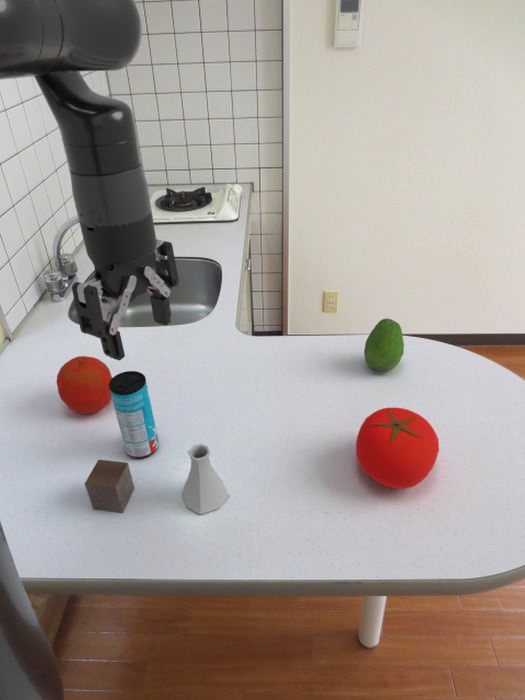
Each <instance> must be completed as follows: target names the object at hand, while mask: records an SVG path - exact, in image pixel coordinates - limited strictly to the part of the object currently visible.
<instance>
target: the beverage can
mask: <svg viewBox="0 0 525 700" xmlns="http://www.w3.org/2000/svg"><path fill="white" fill-rule="evenodd" d="M109 389H110V393H111V397H112V399H111V401H112V404H113V409H114V412H115V416H116V420H117V423H118V427H119V431H120V435H121V439H122V442H123V446H124V451H125V453H127V455H128V456H129V457H131V458H132V459H145V458H148V457H151V456H152V455H153V454H155V452H156V451H157V450H158V447H159V437H158V432H157V427H156V423H155V417H154V412H153V408H152V402H151V398H150V392H149V387H148V383H147V379H146V376H145V375H144V374H143V373H142V372H140V371H136V370H127V371H123V372H119V373H118V374H115V375H114V376H112V379H111V380H110V382H109Z"/></svg>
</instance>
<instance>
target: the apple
mask: <svg viewBox="0 0 525 700" xmlns="http://www.w3.org/2000/svg"><path fill="white" fill-rule="evenodd" d="M112 378H113V376H112V373H111V370H110V368H109V366H108V365H106V363H105V362H103V361H102V360H100V358H99V359H98V358H96V357H93V356H87V355H86V356H85V355H79V356H75V357H72V358H71V359H70V360H68V361H66V362H65V363H64V364H63V365H62V366H61V367H60V369H59V371H58V373H57V375H56V387H57V392H58V396H59V398H60V400H61V401H62V402H63V403H64V404H65V405H66V407H67V408H68V409H69V410H70V411H72V412H73V413H75V414H83V415H94V414H95V413H98V412H100V411H101V410H102V409H104V408H106V407H107V406H108V405H109V404H110V403H111V401H112V397H111V393H110V389H109V382H110V380H111V379H112Z"/></svg>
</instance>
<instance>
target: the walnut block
mask: <svg viewBox="0 0 525 700" xmlns="http://www.w3.org/2000/svg"><path fill="white" fill-rule="evenodd" d="M84 485H85V489H86V492H87V495H88V498H89V501H90V504H91V507H92V509H93V510H98V511H105V512H112V513H121V514H123V513H124V511H125V509H126V507H127V505H128V504H129V501H130V499H131V497H132V495H133V492H134V491H135V485H134V481H133V477H132V473H131V468H130V465H129V462H124V461H118V460H117V461H116V460H108V459H97V461H96V463H95V464H94V467H93V468H92V470H91V471H90V473H89V474H88V476H87V478H86V480H85V482H84Z"/></svg>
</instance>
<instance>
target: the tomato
mask: <svg viewBox="0 0 525 700" xmlns="http://www.w3.org/2000/svg"><path fill="white" fill-rule="evenodd" d="M355 441H356V442H355V455H356V459H357V461H358V463H359V465H360V467H361V469H362V470H363V471H364V473H365V474H366V475H367V476H368V477H369V478H371V479H372V480H374V481H375V482H377V483H379V484H381V485H382V486H385V487H388V488H391V489H408V488H412V487H413V488H414V487H415V486H417V485H418V484H420V483H421V482H423V481H424V480H425V479H426V478H427V477H428V475H429V474H430V472H431V470H433V468H434V466H435V464H436V461H437V459H438V455H439V452H440V443H439V441H440V440H439V436H438V435H437V433H436V431H435V429H434V428H433V426H432V424H431V423H430V422H429V420H427V419H426V418H425V417H424V416H421V415H420V414H419V413H417V412H416V411H413V410H409V409H407V408H402V407H383V408H381V409H377V410H376V411H374V412H372V413H371V414H370V415H368V416H367V417H366V418H365V419H364V421H363V422H362V424H361V425H360V428H359V430H358V433H357V436H356V440H355Z"/></svg>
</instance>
